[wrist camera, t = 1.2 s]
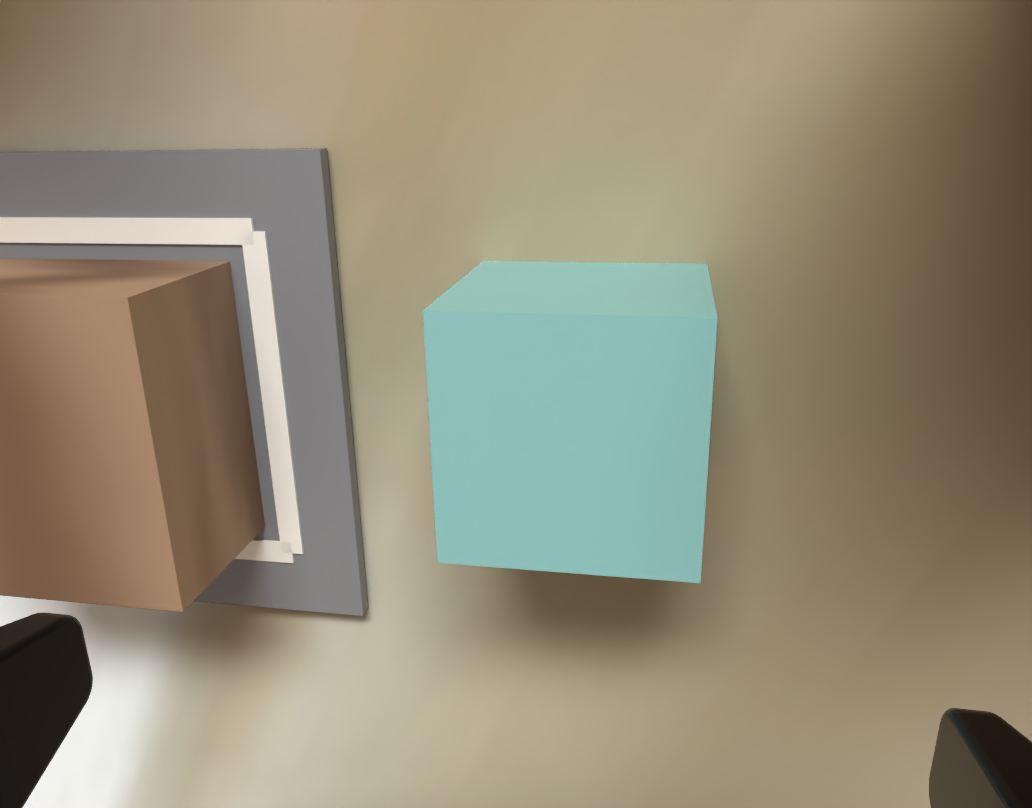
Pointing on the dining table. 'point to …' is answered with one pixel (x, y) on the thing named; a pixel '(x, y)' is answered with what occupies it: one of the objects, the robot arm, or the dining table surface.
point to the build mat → (262, 325)
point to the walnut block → (122, 431)
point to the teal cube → (572, 417)
